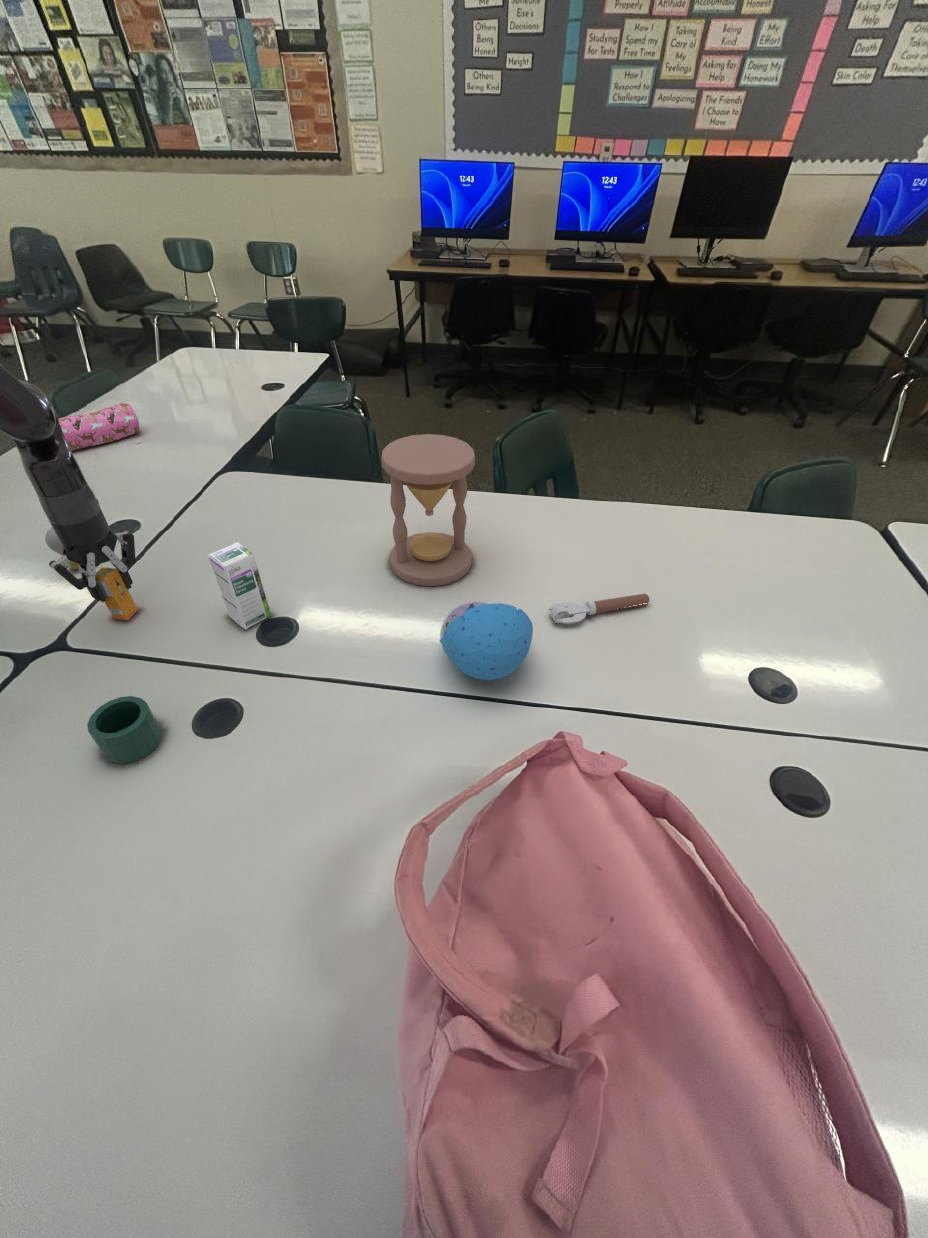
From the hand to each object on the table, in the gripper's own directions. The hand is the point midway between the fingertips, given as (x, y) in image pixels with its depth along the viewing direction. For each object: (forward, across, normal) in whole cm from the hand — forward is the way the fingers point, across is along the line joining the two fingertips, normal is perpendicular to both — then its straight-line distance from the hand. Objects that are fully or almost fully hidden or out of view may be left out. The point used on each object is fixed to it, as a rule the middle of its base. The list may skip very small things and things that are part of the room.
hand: (114, 593), depth 103 cm
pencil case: (+5, -38, -80) cm, 89 cm away
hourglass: (+5, -49, +35) cm, 60 cm away
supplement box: (+5, 0, 0) cm, 5 cm away
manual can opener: (+5, -56, +71) cm, 91 cm away
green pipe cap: (+5, +15, +29) cm, 33 cm away
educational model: (+5, -31, +61) cm, 69 cm away
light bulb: (+5, -2, -22) cm, 23 cm away
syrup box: (+5, -14, +19) cm, 24 cm away
